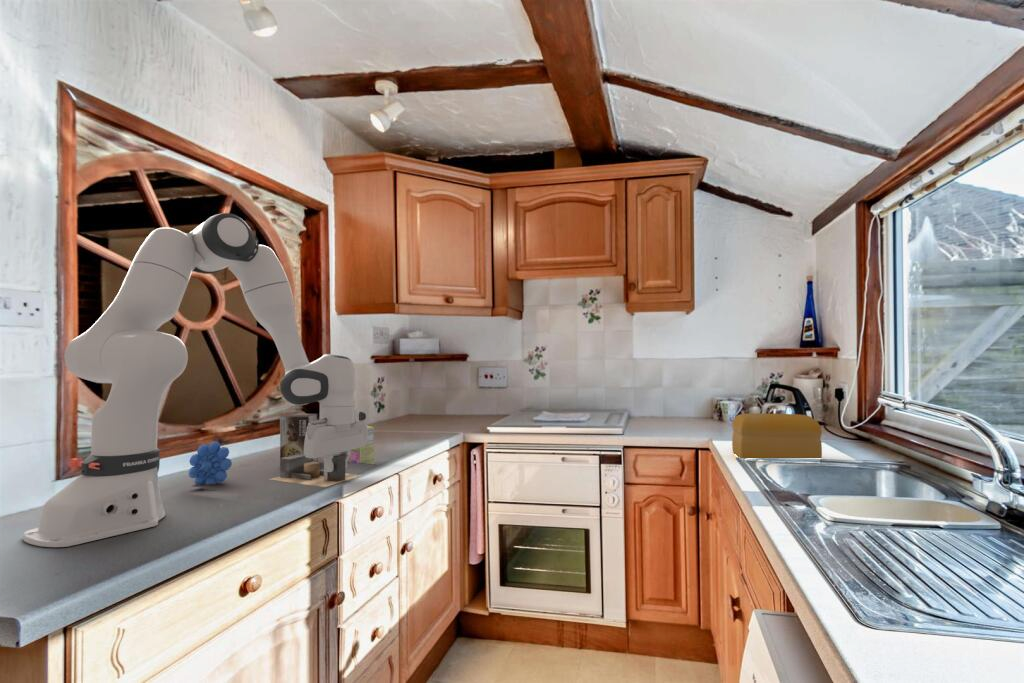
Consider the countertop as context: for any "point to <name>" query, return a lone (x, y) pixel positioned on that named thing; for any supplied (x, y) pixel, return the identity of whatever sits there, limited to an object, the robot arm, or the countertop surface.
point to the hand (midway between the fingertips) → (336, 469)
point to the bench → (315, 480)
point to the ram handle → (336, 468)
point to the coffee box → (294, 433)
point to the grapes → (210, 464)
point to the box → (364, 450)
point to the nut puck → (312, 469)
